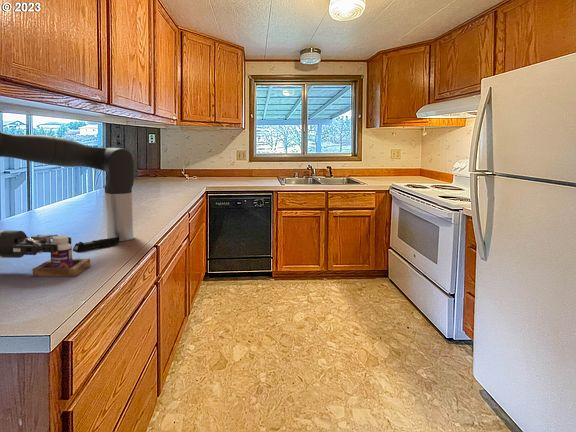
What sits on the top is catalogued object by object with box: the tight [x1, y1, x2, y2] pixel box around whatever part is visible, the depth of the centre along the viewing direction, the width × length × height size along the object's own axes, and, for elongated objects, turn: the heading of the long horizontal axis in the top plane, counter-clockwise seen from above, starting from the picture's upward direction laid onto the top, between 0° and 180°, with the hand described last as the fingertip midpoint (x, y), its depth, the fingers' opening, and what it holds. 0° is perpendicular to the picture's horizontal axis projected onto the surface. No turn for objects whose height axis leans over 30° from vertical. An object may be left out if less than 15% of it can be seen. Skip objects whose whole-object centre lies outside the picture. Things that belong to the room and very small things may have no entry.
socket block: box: [32, 258, 91, 277], centre depth 128 cm, size 11×11×2 cm
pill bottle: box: [49, 234, 73, 268], centre depth 128 cm, size 5×5×10 cm
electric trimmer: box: [72, 237, 120, 253], centre depth 156 cm, size 4×16×3 cm, turn 139°
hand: (64, 244), depth 127 cm, fingers open, 8 cm apart
